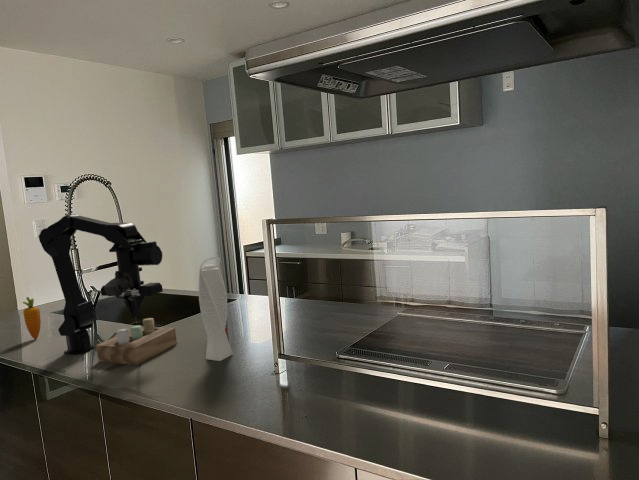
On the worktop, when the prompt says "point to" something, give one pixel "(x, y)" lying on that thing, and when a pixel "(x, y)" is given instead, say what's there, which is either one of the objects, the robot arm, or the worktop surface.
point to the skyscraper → (214, 310)
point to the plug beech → (148, 325)
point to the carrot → (32, 318)
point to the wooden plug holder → (137, 347)
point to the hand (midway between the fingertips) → (135, 317)
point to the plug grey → (123, 336)
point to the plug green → (136, 332)
